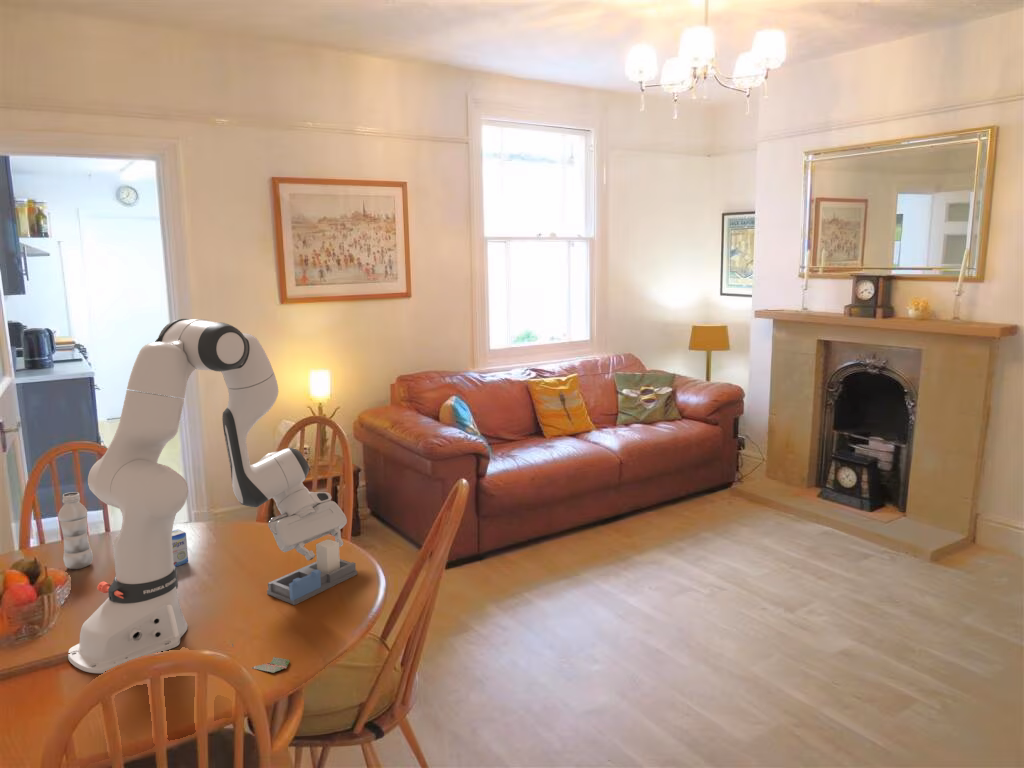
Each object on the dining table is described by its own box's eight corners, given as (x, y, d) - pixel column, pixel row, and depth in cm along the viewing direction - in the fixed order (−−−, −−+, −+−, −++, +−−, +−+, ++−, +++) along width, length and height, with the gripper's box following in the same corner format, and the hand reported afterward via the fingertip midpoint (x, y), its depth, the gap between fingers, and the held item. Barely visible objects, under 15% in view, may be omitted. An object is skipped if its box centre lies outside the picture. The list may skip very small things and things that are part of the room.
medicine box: (159, 573, 184) (156, 541, 182) (151, 568, 186) (148, 537, 185) (189, 562, 190) (186, 532, 188) (180, 558, 192) (177, 528, 191)
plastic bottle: (84, 572, 184) (76, 498, 180) (58, 572, 184) (49, 498, 180) (99, 561, 190) (91, 490, 187) (74, 561, 190) (66, 490, 187)
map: (278, 677, 138) (278, 673, 138) (201, 654, 147) (201, 650, 146) (296, 664, 143) (295, 660, 142) (220, 642, 151) (220, 638, 151)
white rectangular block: (328, 577, 179) (326, 547, 177) (317, 573, 181) (315, 544, 179) (340, 572, 182) (338, 542, 180) (329, 568, 184) (328, 539, 183)
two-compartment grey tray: (296, 605, 166) (294, 582, 165) (267, 594, 172) (265, 571, 171) (358, 574, 182) (358, 553, 181) (330, 565, 188) (329, 544, 187)
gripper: (270, 513, 174) (299, 560, 171) (333, 491, 191) (361, 533, 187) (260, 527, 178) (287, 573, 174) (323, 503, 194) (350, 545, 191)
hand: (326, 552), depth 181 cm, fingers open, 8 cm apart
